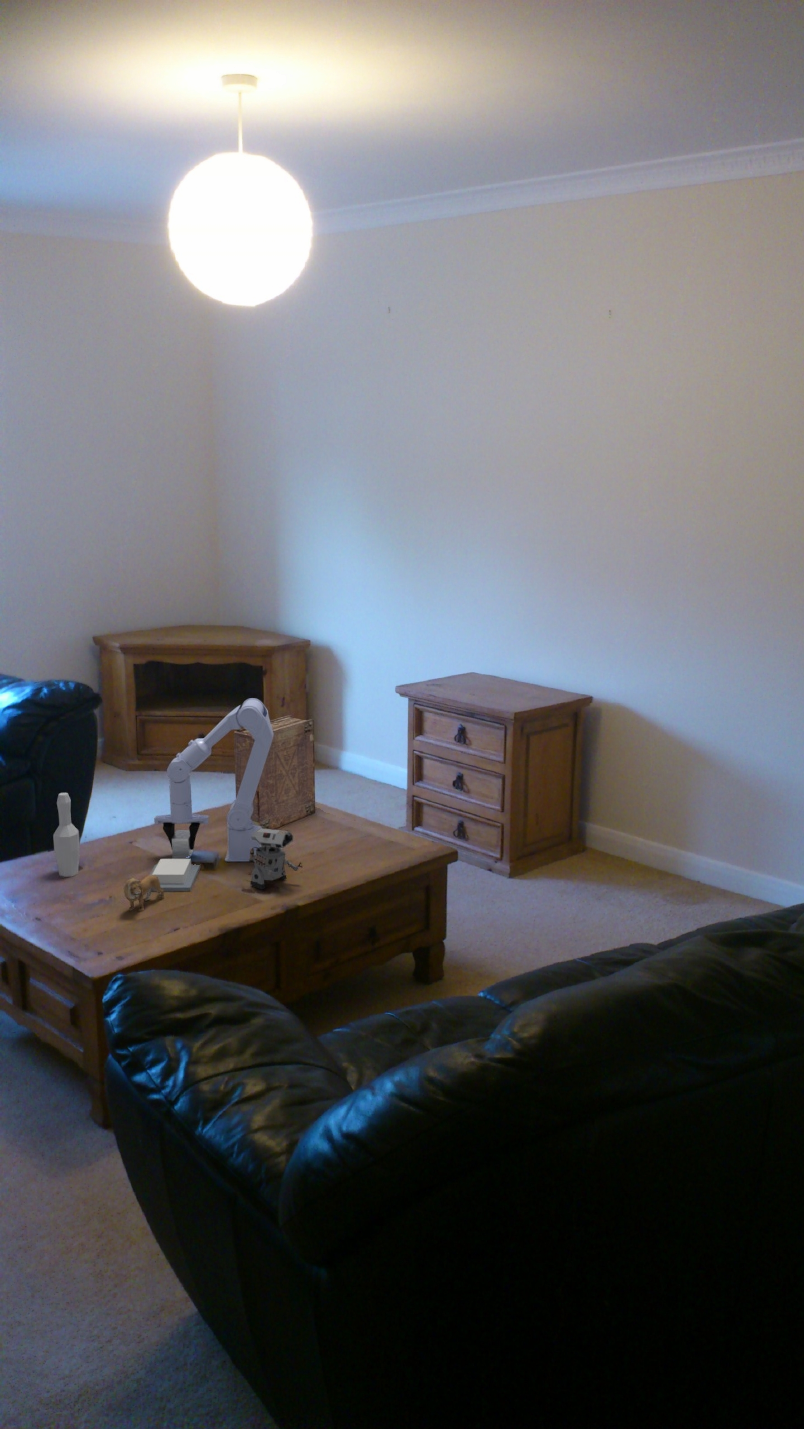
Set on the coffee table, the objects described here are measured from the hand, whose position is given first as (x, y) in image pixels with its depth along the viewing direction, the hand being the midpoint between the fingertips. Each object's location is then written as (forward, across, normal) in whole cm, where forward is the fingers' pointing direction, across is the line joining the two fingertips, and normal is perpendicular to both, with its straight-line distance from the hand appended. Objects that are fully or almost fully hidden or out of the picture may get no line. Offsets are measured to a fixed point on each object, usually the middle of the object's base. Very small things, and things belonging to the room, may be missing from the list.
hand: (183, 848), depth 301 cm
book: (+3, -23, -30) cm, 38 cm away
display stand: (+2, 0, +16) cm, 16 cm away
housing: (+2, 0, 0) cm, 2 cm away
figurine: (+3, -27, +20) cm, 34 cm away
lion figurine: (+3, +4, +33) cm, 33 cm away
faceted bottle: (+3, +28, +12) cm, 31 cm away
